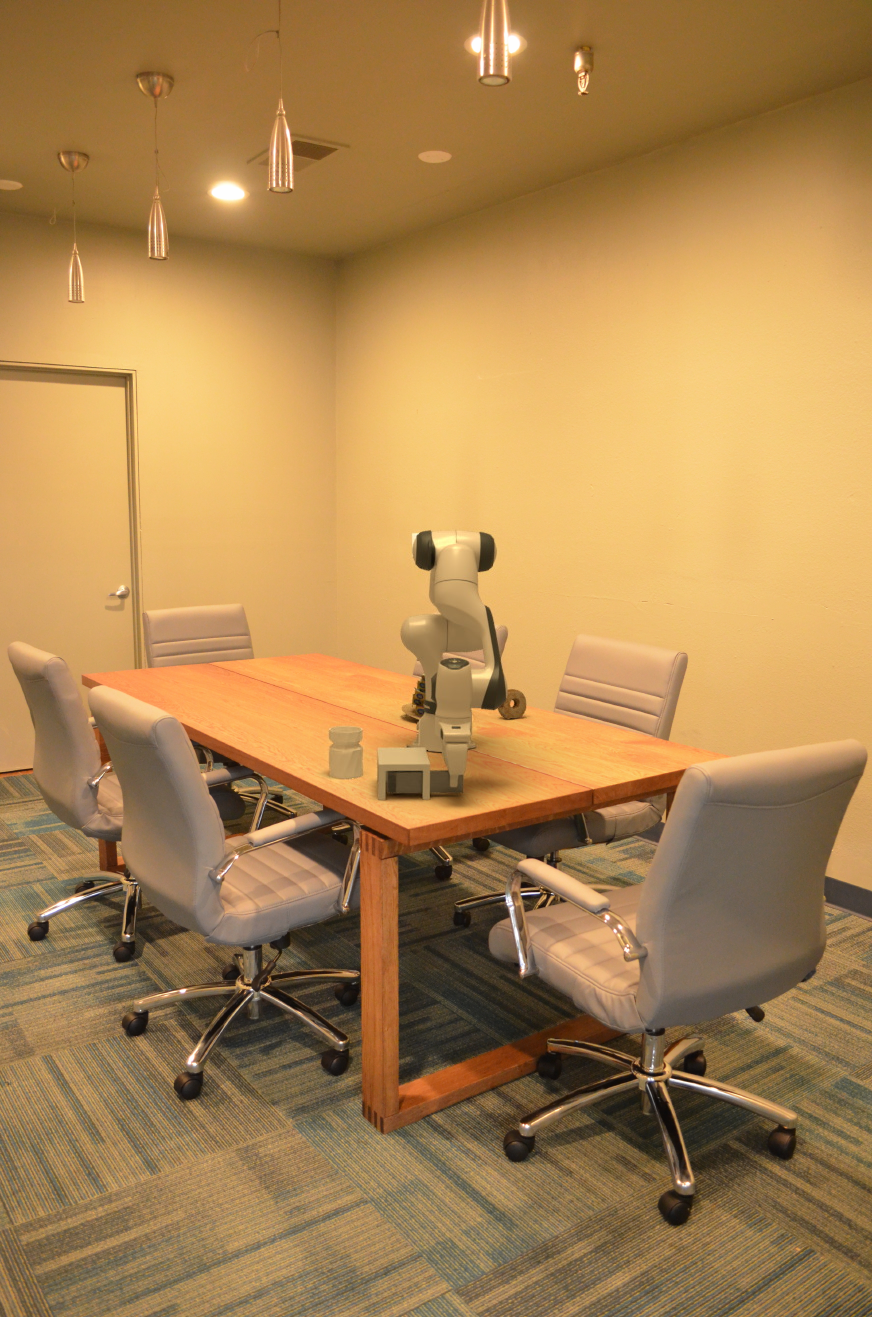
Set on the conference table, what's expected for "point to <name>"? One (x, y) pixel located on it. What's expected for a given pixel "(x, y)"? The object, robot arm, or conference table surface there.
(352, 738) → the pale lidded jar
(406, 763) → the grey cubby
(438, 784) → the dark grey long block
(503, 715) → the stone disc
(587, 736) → the conference table surface
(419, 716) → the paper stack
